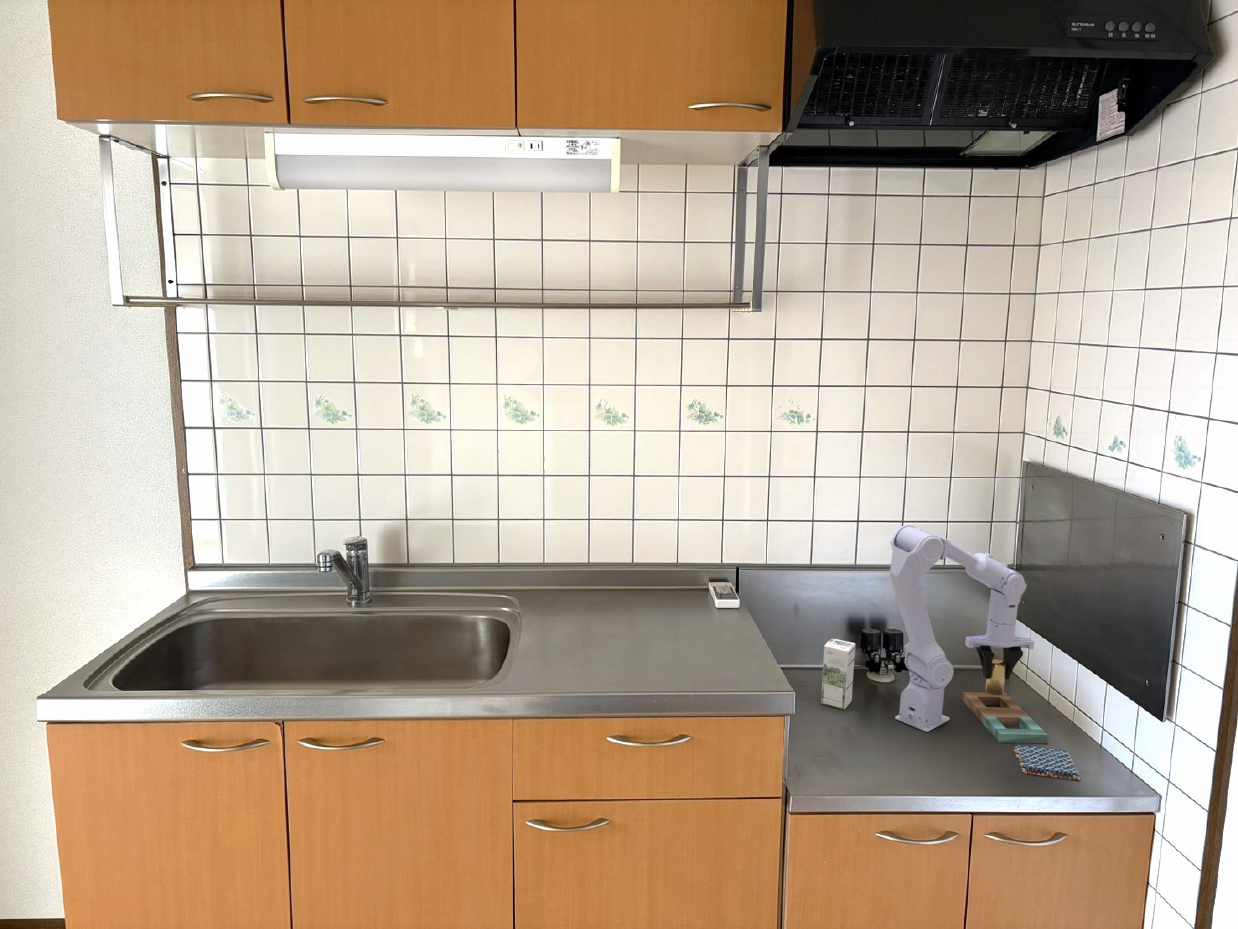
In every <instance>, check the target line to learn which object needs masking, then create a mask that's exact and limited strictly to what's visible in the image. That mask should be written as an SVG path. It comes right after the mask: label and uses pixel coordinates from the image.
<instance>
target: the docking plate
mask: <svg viewBox="0 0 1238 929" xmlns="http://www.w3.org/2000/svg"><path fill="white" fill-rule="evenodd" d="M961 700H962V701H963V703H964V704H965V705H966V707H968V708H969V710H970V711H971V712H972V713H973V714H974V716H975V717H976V718H977V719H978V720H979V721H980V722H981V724H982V725H983V726H984V727H985V728H986V730H988V732H989V734H991V735H992V736H993V737H994V739H995V740H996V741H997V742H998V743H999V744H1000V743H1001V744H1003V743H1005V744H1017V743H1018V744H1044V743H1048V733H1047V732H1046V731H1045V730H1044V729H1042V728H1041V727H1040V726H1039V724H1038V723H1037V722H1035V720H1034V719H1032V718H1031V716H1029V714H1028V713H1027V712H1026V711H1024V710H1023V709H1022V708H1021V706H1020V705H1019V704H1018V703H1017V702H1016V701H1015V700H1014V699H1012V697H1010V695H1008V693H1007V692H1004V694H1003V695H992V694H989V693H987V692H986V691H985V692H983V691H982V692H975V691H972V692H971V691H963V692H962V698H961ZM987 706H989V707H987ZM991 706H993V707H991ZM994 706H1000V707H994ZM1005 726H1006V727H1008V726H1009V727H1010V726H1011V727H1012V726H1013V727H1020V728H1006V727H1005Z"/></svg>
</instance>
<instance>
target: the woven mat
mask: <svg viewBox="0 0 1238 929" xmlns="http://www.w3.org/2000/svg"><path fill="white" fill-rule="evenodd" d="M1016 744H1017V745H1016V746H1014V748H1013V751H1014V752H1015V757H1016V758H1017V759H1018V758H1019V759H1018V760H1019V762H1020V763H1019V766H1021V768H1020V769H1021V770H1022V769H1023V770H1022V773H1024V774H1027V773H1030V774H1029V775H1034V774H1036V776H1041V777H1042V776H1043V777H1048V778H1050V777H1051V778H1056V777H1062V778H1061V779H1063V778H1064V777H1066V778H1071V779H1074V781H1076V780H1077V781H1080V780H1081V778H1080V777H1079V774H1080V773H1079V770H1077V769H1076V768H1077V766H1076V765H1075V763H1074V761H1073V759H1072V758H1071V757H1070V753H1069V752H1067V750H1063V751H1062V748H1059V749H1053V748H1052V747H1051V748H1045V747H1044V746H1042V748H1041V747H1036V745H1034V746H1033V745H1032V746H1031V745H1028V744H1025V745H1023V744H1021V745H1020V743H1016ZM1024 767H1025V768H1024ZM1034 772H1035V773H1034ZM1042 772H1043V773H1042ZM1056 774H1057V775H1056ZM1068 775H1069V776H1068ZM1071 779H1070V780H1071ZM1078 779H1079V780H1078Z"/></svg>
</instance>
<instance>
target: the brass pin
mask: <svg viewBox="0 0 1238 929" xmlns="http://www.w3.org/2000/svg"><path fill="white" fill-rule="evenodd" d="M1006 665H1007V664H1006V663H1005V662H1004V661H1003V660H1001V659H996V658H995V659H994V658H993V661H992V665H991V675H990V679H986V678H985V679H986V682H985V693H989V694H992V695H1003V694H1004V693H1005V691H1004V690H1005V682H1006V679H1005V674H1006Z"/></svg>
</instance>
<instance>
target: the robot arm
mask: <svg viewBox="0 0 1238 929" xmlns="http://www.w3.org/2000/svg"><path fill="white" fill-rule="evenodd" d="M890 546H891V549H892V552H891V560H890V561H891V562H890V570H889V577H890V580H891V584H892V586H893V590H894V594H895V597H896V601H897V604H898V607H899V611H900V614H901V618H902V621H903V624H904V628H905V629H904V630H905V631H906V632H905V633H906V636H907V638H908V642H907V643H906V644H905V645H904V650H905V656H904V657H905V658H904V664H905V667H906V668H907V670H909V673H908V675H909V677H910V678H909V683H908V685H907V687H905V688H903V690H902V692H901V693H900V700H899V714H898V715H896V716H895V720H897V721H899V722H902V723H905V724H906V725H909V726H912V727H913V728H916V729H918V730H920V731H923V732H925V733H927V732H928V733H929V732H930V731H932V730H934V729H935V728H939V726H942V725H944V723H946V722H948V721H950V720H951V719H950V717H949V716H946V715H943V707H944V696H945V688H946V687H947V685H949V683H950V682H952V679H953V677H954V666H953V664H952V663H951V662H950V661H949V660H948V659H947V657H946V653H945V651H943V649H942V647H941V646H940V645H939V644H938V642H937V640H936V638H935V634H934V629H933V627H932V624H931V623H932V622H931V619H930V616H929V611H928V609H927V605H926V601H925V598H924V594H923V590H922V588H921V584H920V580H919V579H920V577H923V576H924V575H925V574H926V573H927V572H928V571H929V570H930V569H931V568H933V566H934V565H935V564H936V563H937V562H938V561H939V560H941V561H943V560H945V558H947V559H949V560H951V561H953V562H955V563H957V564H959V565H961V566H963V567H965V572H966V575H968V576H969V577H970V578H971V579H974V580H976V581H978V582H980V583H981V584H983V585H985V586H986V587H987V588H988V589H990V596H989V604H988V605H989V606H988V615H987V624H986V634H982V635H980V634H979V635H974V636H973V635H972V636H966V637H965V642H964V643H965V644H964V645H965V646H966V647H967V648H968V649H973V648H974V649H975V651H976V652H977V655H978V657H979V660H980V664H981V669H982V676H983V677H984V678H985V679H990V675H991V665H992V661H993V659H994V658H995V653H994V652H993V651H992V650H993V649H992V648H1002V654H1003V655H1002V656H1003V657H1002V659H1003V660H1002V661H1004V662H1005V663H1006V664H1007V665H1006V674H1005V680H1010V677H1011V676H1012V675H1011V674H1012V672H1013V671H1014V668H1015V666H1016V665H1017V664H1018V662H1019V661H1020V660H1021V659H1022V657H1023V656H1024V651H1023V650H1022V649H1028V650H1034V647H1035V640H1034V639H1032V638H1031V637H1020V636H1015V633H1016V624H1017V615H1018V607H1019V604H1020V602H1021V598H1022V595H1023V593H1025V591H1026V588H1027V585H1028V584H1027V583H1026V581H1025V579H1024V577H1023V576H1024V575H1022V574H1021V573H1020V572H1018V571H1016V570H1014V569H1010V568H1008V565H1009V564H1007V563H1005V562H999V561H997V560H995V559H993V558H994V555H992V554H991V553H988V552H984V553H983V552H975V553H971V552H969V551H968V550H967V549H965V548H964V547H962V546H960V545H958V544H957V543H955V542H953V541H952V540H950V539H948V538H946V537H943V536H941V535H938V534H935V533H933V532H930V531H927V530H924V529H922V528H920V529H919V528H917V527H916V526H915V525H913V524H912V525H911V524H904V525H903V526H901V527H899V528H898V529H897V531H896V532H895V534H894V535H893V537H891V540H890Z"/></svg>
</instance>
